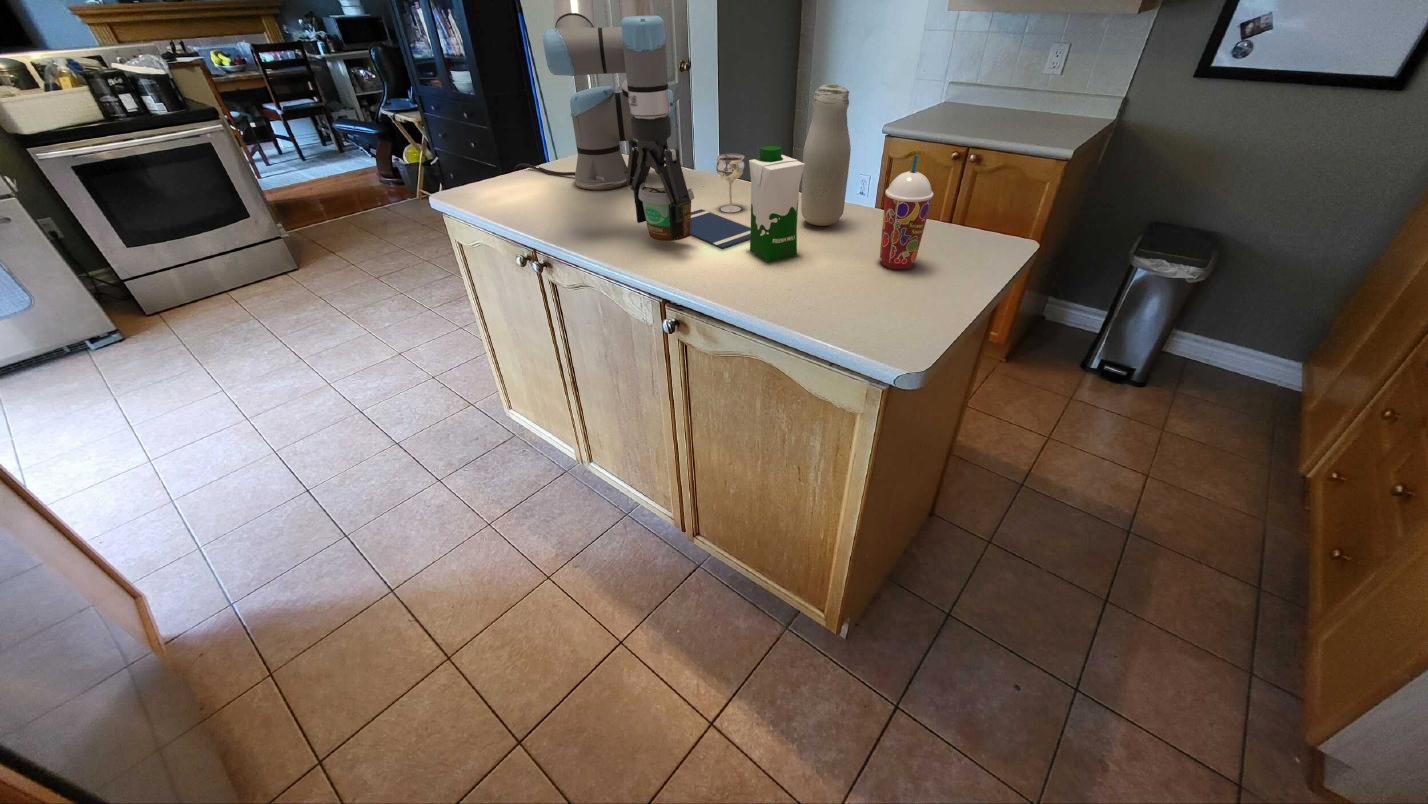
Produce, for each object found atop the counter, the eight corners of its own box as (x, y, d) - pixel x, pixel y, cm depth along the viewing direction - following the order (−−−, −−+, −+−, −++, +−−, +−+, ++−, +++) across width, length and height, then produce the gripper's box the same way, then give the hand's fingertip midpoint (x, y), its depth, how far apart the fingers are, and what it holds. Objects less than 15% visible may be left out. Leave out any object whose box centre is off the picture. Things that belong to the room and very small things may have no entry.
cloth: (661, 222, 133) (661, 220, 133) (701, 210, 139) (701, 209, 139) (722, 249, 119) (722, 247, 119) (763, 234, 125) (764, 232, 125)
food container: (631, 238, 120) (625, 190, 114) (646, 229, 125) (641, 182, 119) (681, 246, 116) (678, 197, 110) (696, 236, 120) (693, 188, 114)
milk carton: (779, 242, 121) (783, 142, 109) (803, 256, 115) (811, 151, 103) (743, 250, 118) (744, 148, 106) (766, 266, 112) (770, 158, 100)
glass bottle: (841, 216, 133) (856, 80, 116) (843, 232, 125) (859, 89, 108) (799, 215, 134) (808, 81, 117) (797, 231, 126) (807, 89, 109)
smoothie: (911, 276, 106) (933, 164, 94) (868, 267, 110) (884, 158, 98) (923, 260, 112) (946, 152, 100) (882, 252, 116) (899, 147, 104)
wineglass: (724, 215, 136) (723, 162, 129) (712, 207, 141) (711, 156, 134) (749, 210, 138) (749, 158, 131) (737, 203, 143) (736, 152, 136)
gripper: (600, 109, 112) (614, 218, 125) (671, 127, 97) (679, 249, 111) (632, 104, 116) (642, 210, 129) (705, 121, 101) (709, 239, 114)
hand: (659, 228), depth 120 cm, fingers closed on food container, 12 cm apart
